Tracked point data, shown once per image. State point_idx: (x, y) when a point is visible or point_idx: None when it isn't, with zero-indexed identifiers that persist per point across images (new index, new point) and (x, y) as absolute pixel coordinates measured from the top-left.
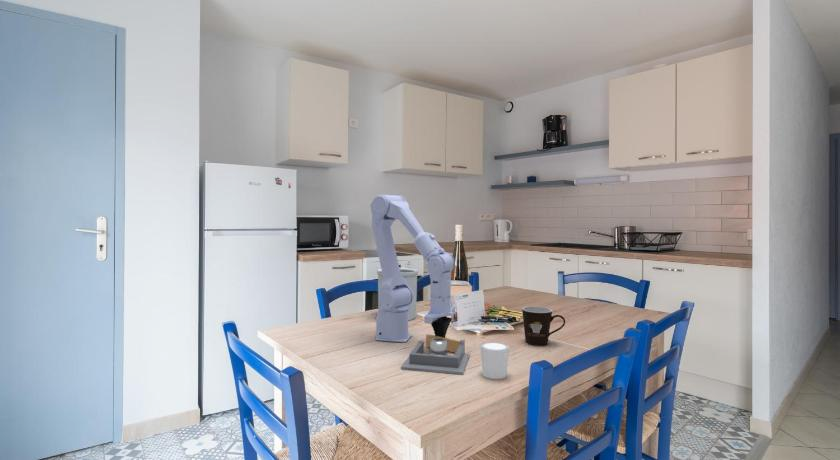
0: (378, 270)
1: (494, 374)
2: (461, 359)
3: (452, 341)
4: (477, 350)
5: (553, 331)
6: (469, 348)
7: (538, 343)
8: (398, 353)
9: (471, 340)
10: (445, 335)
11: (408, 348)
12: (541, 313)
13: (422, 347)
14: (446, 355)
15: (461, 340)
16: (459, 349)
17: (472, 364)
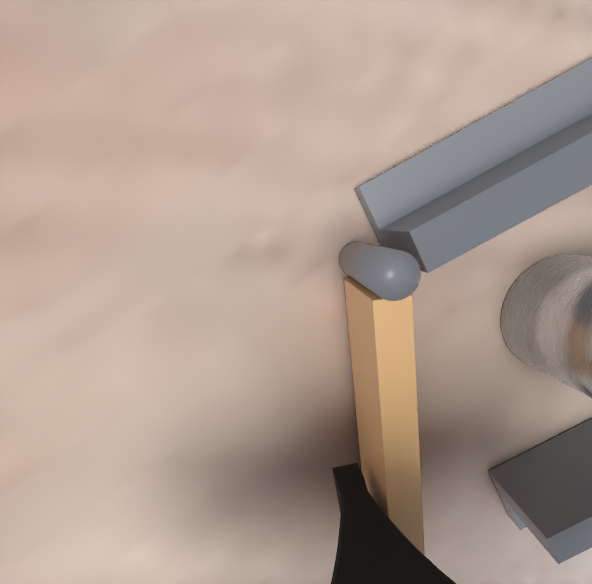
0: None
1: None
2: (531, 147)
3: (410, 372)
4: (188, 224)
5: None
6: (195, 303)
7: None
8: (585, 552)
9: (8, 415)
10: (344, 513)
11: (476, 576)
12: None
13: (562, 488)
14: (583, 262)
15: (401, 285)
16: (573, 171)
17: (506, 51)
